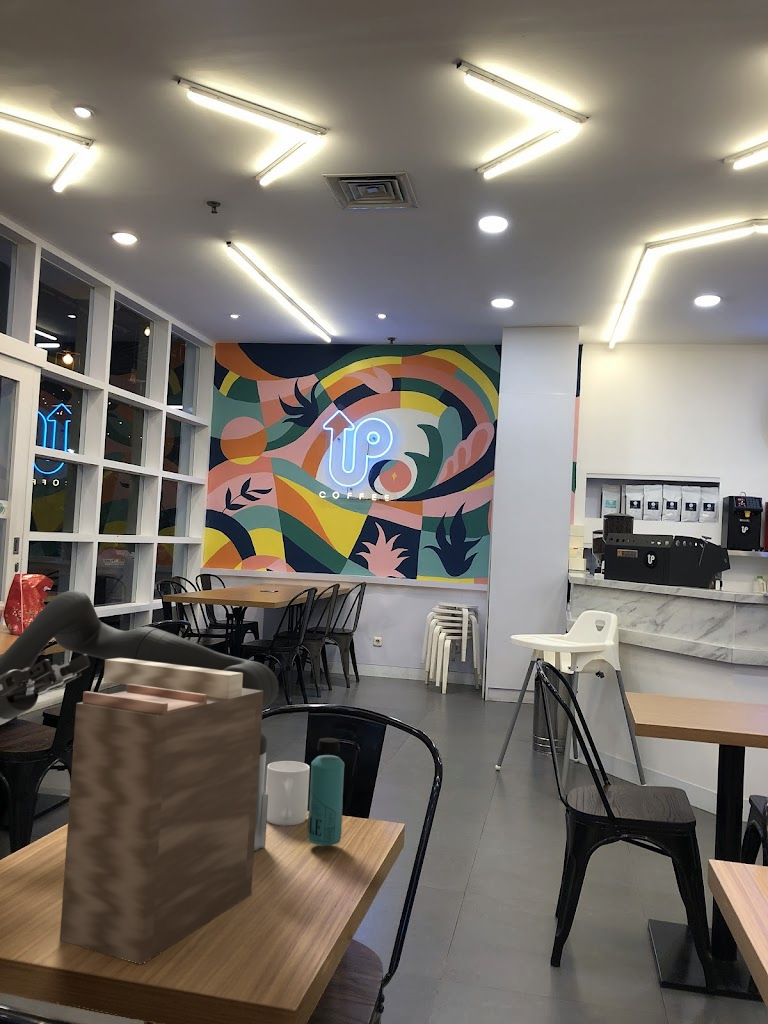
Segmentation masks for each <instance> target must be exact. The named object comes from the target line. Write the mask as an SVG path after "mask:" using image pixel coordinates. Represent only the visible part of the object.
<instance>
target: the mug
mask: <svg viewBox="0 0 768 1024" xmlns="http://www.w3.org/2000/svg"><path fill="white" fill-rule="evenodd" d="M310 768H311V767H310V765H308V764H307V763H304V762H302V761H301V762H300V761H296V760H295V761H292V760H281V761H274V762H270V763H269V764H267V767H266V781H265V782H266V783H265V793H267V794H268V807H267V823H270V824H271V825H275V826H276V825H277V826H284V827H287V826H295V825H296V826H297V825H300V824H303V823H304V822H305V821H306V820H307V817H308V807H309V790H310V771H311V769H310Z"/></svg>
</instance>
